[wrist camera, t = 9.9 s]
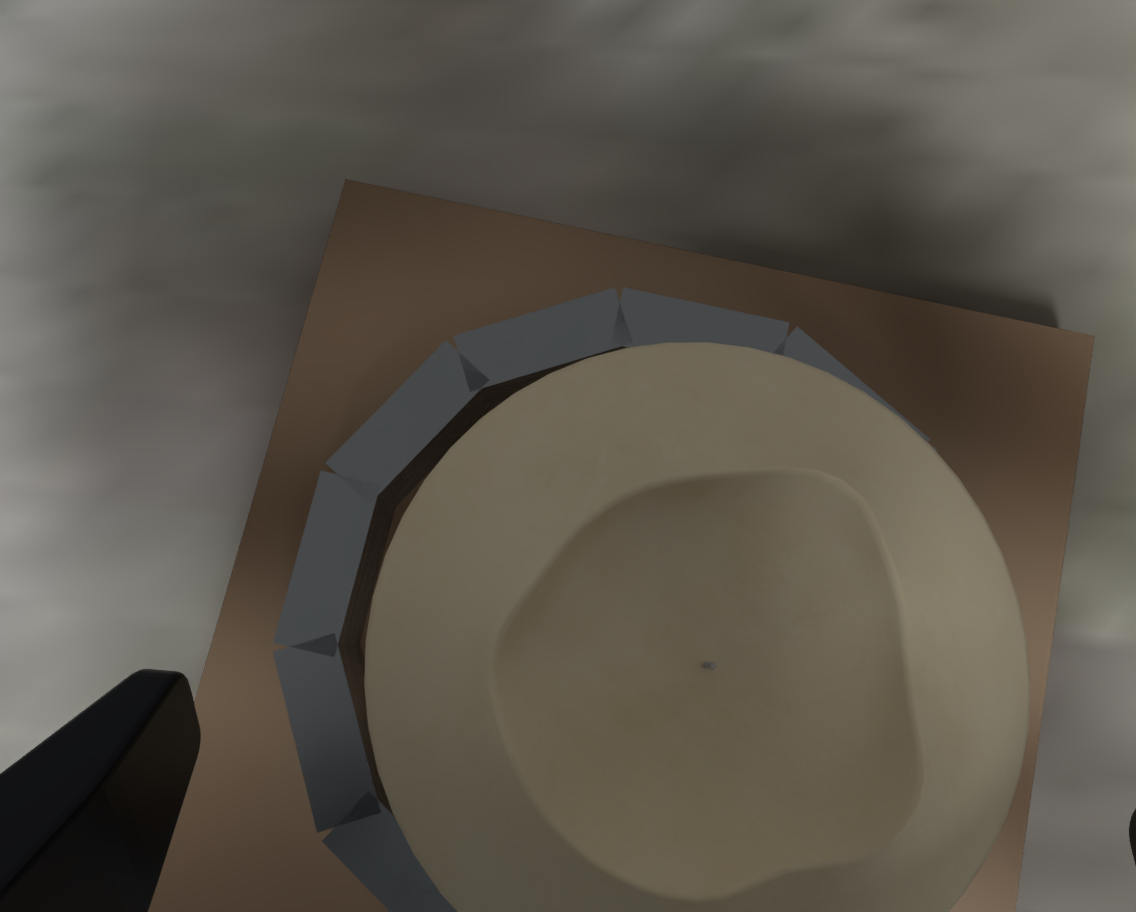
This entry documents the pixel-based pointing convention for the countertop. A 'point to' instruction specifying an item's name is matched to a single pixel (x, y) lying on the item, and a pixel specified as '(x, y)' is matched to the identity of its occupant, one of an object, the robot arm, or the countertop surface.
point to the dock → (449, 409)
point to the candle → (696, 650)
